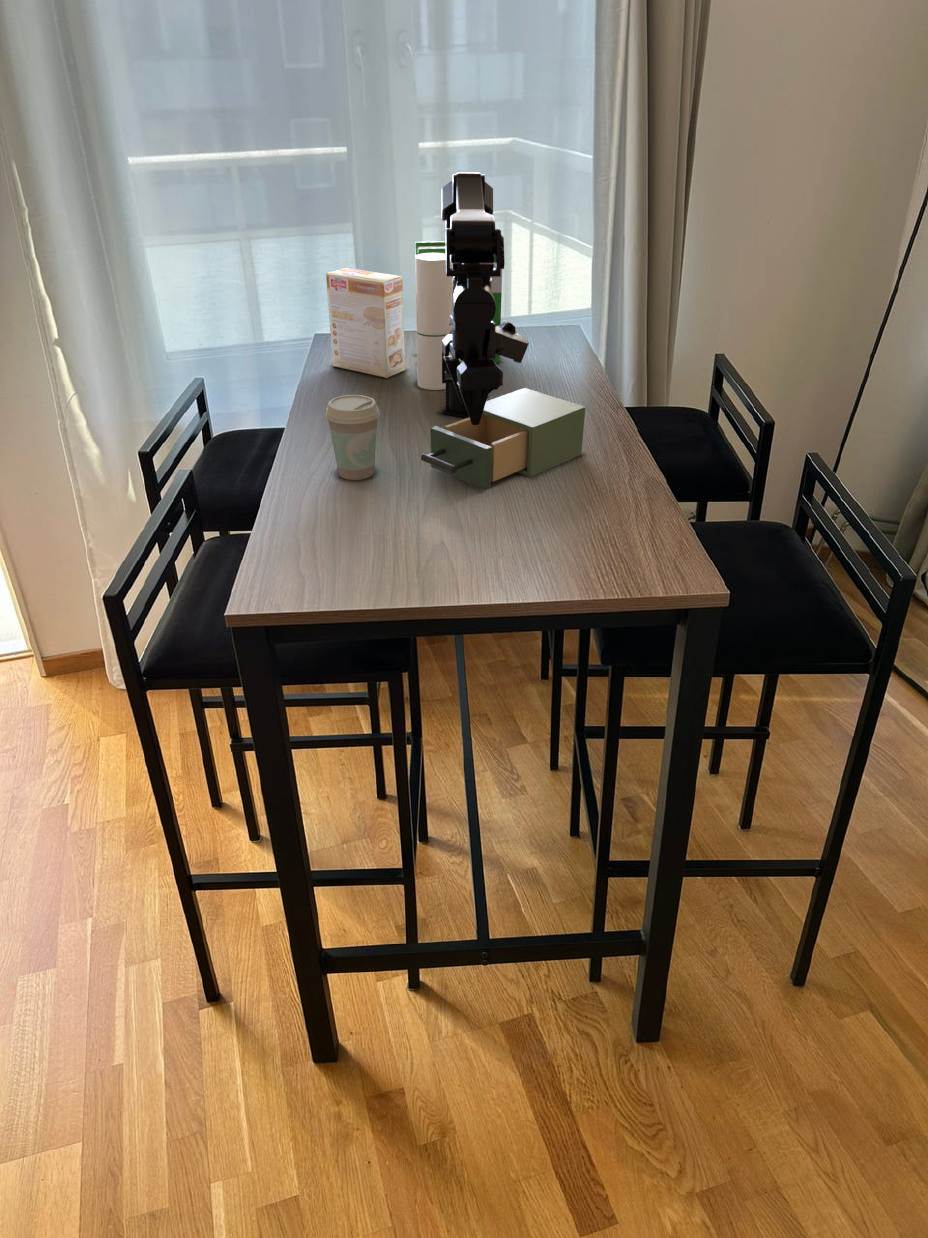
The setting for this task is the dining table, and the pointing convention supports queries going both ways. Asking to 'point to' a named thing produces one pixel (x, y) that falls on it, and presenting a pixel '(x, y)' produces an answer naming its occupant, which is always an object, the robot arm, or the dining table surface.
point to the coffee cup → (353, 434)
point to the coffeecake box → (366, 321)
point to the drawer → (478, 450)
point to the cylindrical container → (432, 317)
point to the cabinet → (542, 426)
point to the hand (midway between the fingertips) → (470, 414)
